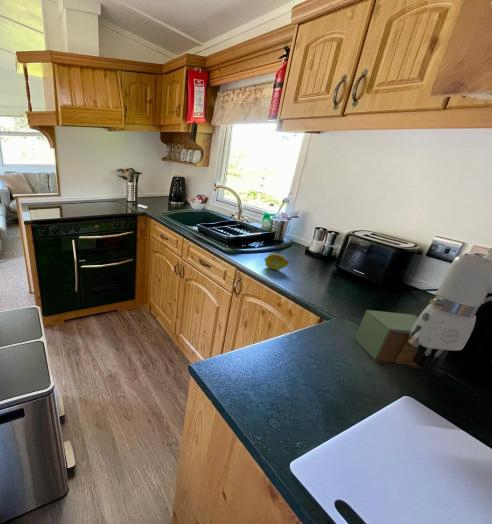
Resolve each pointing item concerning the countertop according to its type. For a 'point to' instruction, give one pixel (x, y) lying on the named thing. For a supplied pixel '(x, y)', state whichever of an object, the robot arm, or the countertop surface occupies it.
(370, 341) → the cupboard
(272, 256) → the lemon
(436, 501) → the countertop surface
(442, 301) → the robot arm
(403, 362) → the sliding door
